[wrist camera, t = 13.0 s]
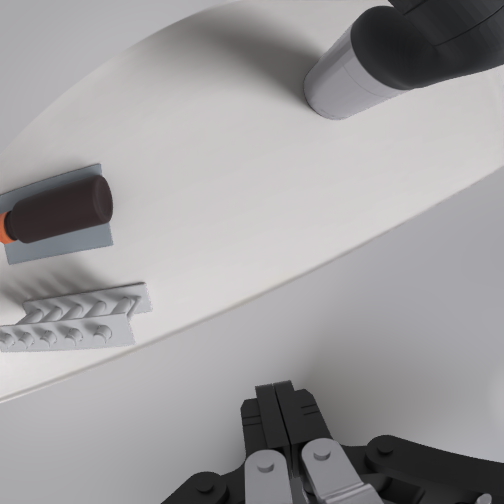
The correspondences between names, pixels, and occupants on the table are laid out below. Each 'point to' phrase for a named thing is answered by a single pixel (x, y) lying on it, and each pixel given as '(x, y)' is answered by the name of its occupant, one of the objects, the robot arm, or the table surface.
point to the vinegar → (58, 211)
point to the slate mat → (60, 243)
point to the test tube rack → (77, 321)
